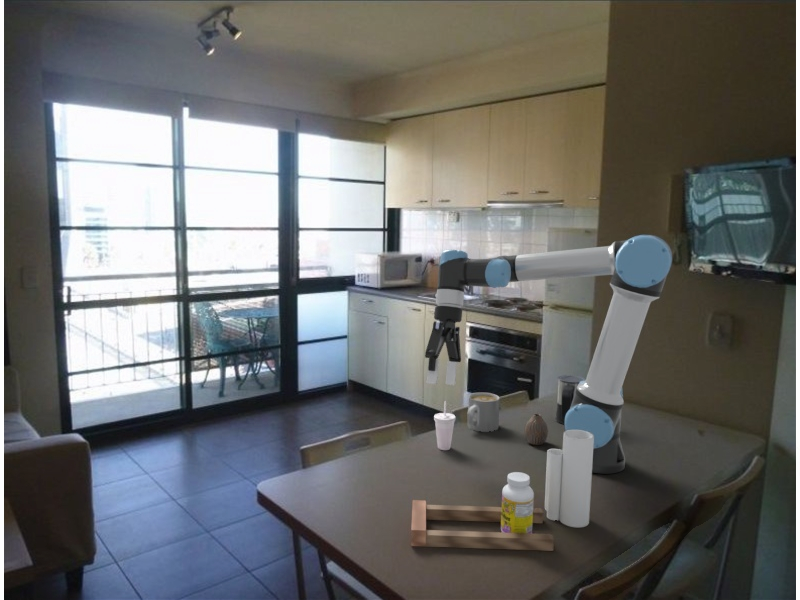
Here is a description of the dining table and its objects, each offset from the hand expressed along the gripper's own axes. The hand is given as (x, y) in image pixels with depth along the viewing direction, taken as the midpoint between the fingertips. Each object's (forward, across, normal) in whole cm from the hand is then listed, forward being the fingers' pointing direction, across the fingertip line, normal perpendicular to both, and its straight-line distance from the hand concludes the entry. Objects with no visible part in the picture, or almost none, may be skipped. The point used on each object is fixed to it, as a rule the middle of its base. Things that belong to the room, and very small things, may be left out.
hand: (441, 384), depth 159 cm
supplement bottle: (+29, +19, +28) cm, 45 cm away
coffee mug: (+14, -38, 0) cm, 40 cm away
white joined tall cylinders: (+26, +7, +36) cm, 45 cm away
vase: (+15, -34, +19) cm, 41 cm away
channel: (+30, +22, +22) cm, 43 cm away
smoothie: (+19, -17, -4) cm, 26 cm away
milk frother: (+9, -56, +28) cm, 64 cm away
